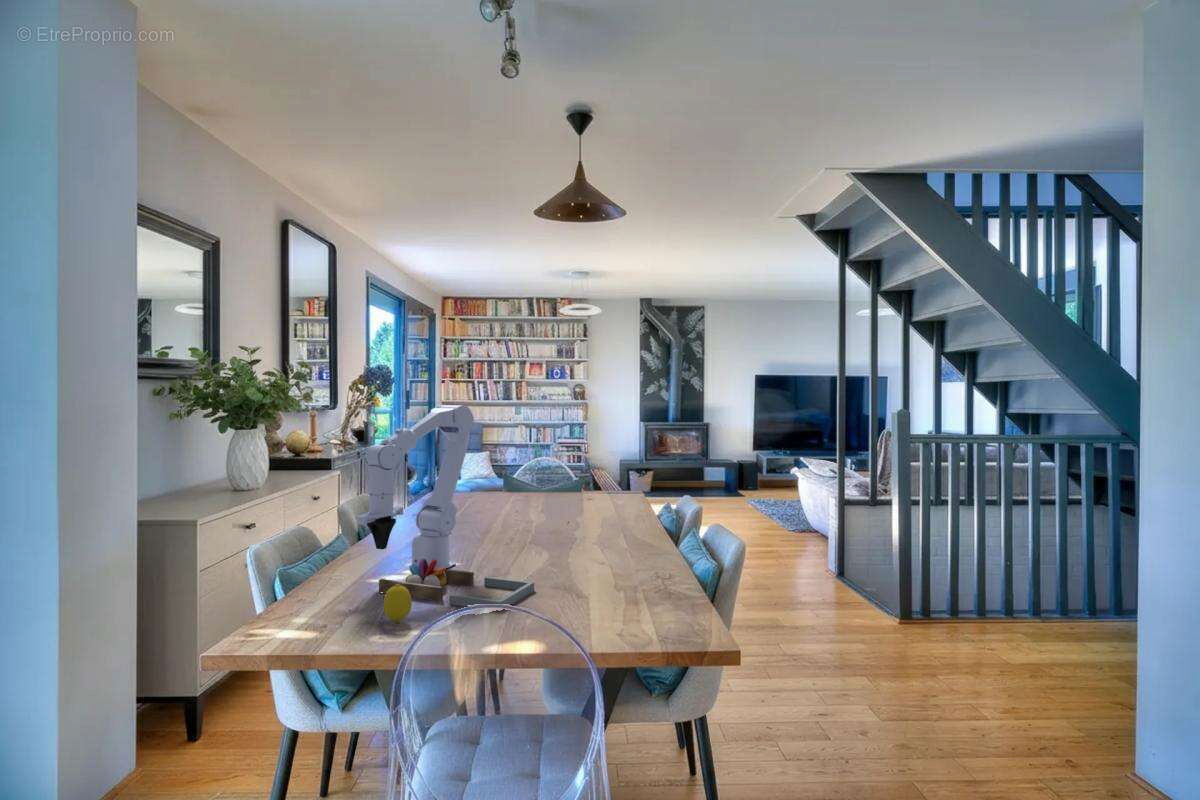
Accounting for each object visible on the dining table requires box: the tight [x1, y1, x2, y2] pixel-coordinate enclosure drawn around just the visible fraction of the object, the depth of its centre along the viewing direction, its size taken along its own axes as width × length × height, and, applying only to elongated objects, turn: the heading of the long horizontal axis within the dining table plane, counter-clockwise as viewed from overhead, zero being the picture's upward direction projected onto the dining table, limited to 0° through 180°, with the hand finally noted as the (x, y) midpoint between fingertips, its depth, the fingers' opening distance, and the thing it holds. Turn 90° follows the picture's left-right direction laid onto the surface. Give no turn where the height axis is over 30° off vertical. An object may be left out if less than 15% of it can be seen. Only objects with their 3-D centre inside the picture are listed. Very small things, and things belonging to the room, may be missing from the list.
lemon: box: [382, 584, 413, 624], centre depth 135 cm, size 6×6×8 cm
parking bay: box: [448, 576, 535, 607], centre depth 152 cm, size 13×16×2 cm
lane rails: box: [378, 568, 475, 602], centre depth 158 cm, size 17×14×3 cm
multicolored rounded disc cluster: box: [405, 558, 447, 587], centre depth 159 cm, size 8×10×7 cm
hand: (381, 548), depth 163 cm, fingers closed
